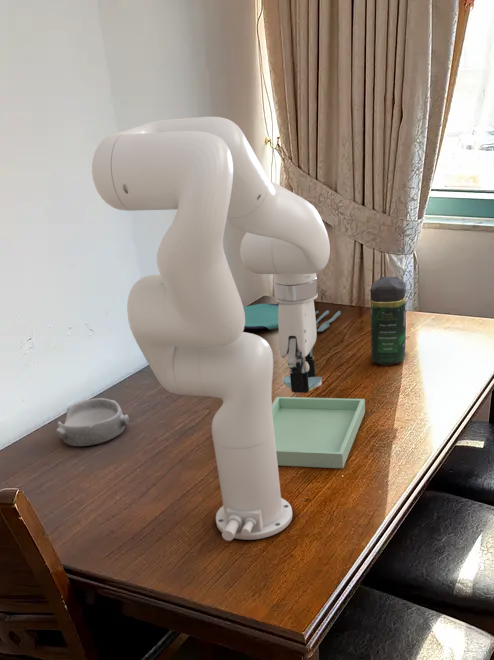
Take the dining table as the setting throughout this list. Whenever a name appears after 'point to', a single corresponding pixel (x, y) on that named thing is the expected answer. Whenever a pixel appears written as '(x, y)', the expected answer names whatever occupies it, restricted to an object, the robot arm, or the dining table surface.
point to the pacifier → (312, 381)
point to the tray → (315, 430)
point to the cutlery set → (273, 317)
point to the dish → (92, 422)
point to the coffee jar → (388, 320)
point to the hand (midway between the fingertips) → (303, 384)
